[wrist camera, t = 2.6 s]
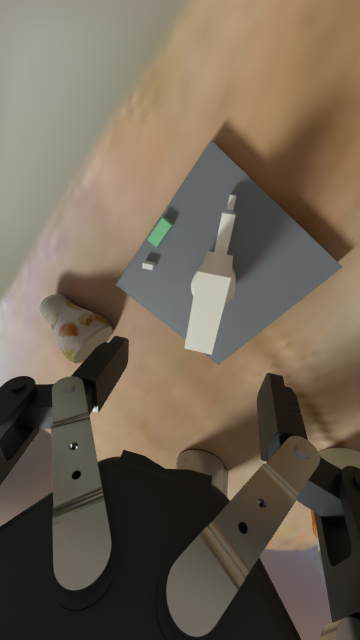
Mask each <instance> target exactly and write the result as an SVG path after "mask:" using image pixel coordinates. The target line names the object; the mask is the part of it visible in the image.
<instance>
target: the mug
mask: <svg viewBox="0 0 360 640" xmlns="http://www.w3.org/2000/svg"><path fill="white" fill-rule="evenodd" d="M39 312H40V315H41V316H42V317H43V318H44V319H45V320H46V321H47V322H48V323H49V325H50V326H51V328H52V330H53V333H54V336H55V338H56V341H57V344H58V346H59V348H60V350H61V352H62V354H63V355H64V356H65V357H66V358H67V359H69V360H70V361H72V362H74V363H80V362H83V361H84V360H86V358H88V356H89V355H90V354H91V353H92V351H93V350H94V349H95V348H96V347H97V346H98V345H100V344H102V343H104V342H106V341H107V340H108V339H109V337H110V336H111V334H112V332H113V329H112V327H111V325H110V324H109V322H108V321H107V320H106V319H105V318H103V317H102V316H100V315H98V314H96V313H94V312H91V311H89V310H86V309H83V308H80V307H78V306H76V305H74V304H73V303H71V302H70V301H69V300H68V299H67V298H65V297H64V296H63V295H60V294H58V295H51V296H49V297H47V298H45V299H44V300H43V301H42V303H41V305H40V311H39Z"/></svg>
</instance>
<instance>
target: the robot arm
mask: <svg viewBox="0 0 360 640" xmlns="http://www.w3.org/2000/svg"><path fill="white" fill-rule="evenodd" d="M128 347H129V340H128V339H127V338H123V337H119V336H114V337H113V339H112V340H111V341H110V342H109V343H107V342H104V343H102V344H100V345H98V346H97V347H96V348H95V349H94V350H93V351H92V353H91V354H90V355H89V356H88V358H86V360H85V361H84V362H83V363H82V364H81V365H80V367H79V368H78V369H77V370H76V371H75V372H74V373H73V375H72V376H71V377H65V378H62V379H60V380H58V381H57V382H56V383H55V384H48V385H36V384H35V381H34V379H33V378H31V377H28V376H20V377H16V378H13V379H11V380H9V381H7V382H6V383H5V384H4V385H2V386H1V387H0V485H1V483H2V482H3V481H4V479H5V478H6V476H7V475H8V474H9V472H10V471H11V470H12V468H13V467H14V465H15V464H16V462H17V461H18V460H19V458H20V457H21V456H22V454H23V453H24V452H25V450H26V449H27V447H28V446H29V445H30V443H31V442H32V440H33V439H34V438H35V436H36V435H37V434H38V432H39V430H40V429H51V437H52V474H53V492H52V493H50V494H48V495H47V496H45V497H44V498H43V499H41V500H39V501H38V502H36V503H35V504H34V505H32V506H30V507H29V508H28V509H26V510H24V511H23V512H21V513H20V514H19V515H17V516H15V517H14V518H12V519H11V520H9V521H8V522H7V523H5V524H3V525H2V526H0V640H301V638H300V636H299V634H298V632H297V630H296V628H295V626H294V624H293V622H292V620H291V619H290V617H289V615H288V612H287V611H286V609H285V607H284V605H283V603H282V601H281V599H280V597H279V595H278V593H277V591H276V589H275V587H274V585H273V583H272V581H271V579H270V577H269V575H268V573H267V571H266V569H265V567H264V565H263V563H262V561H261V559H260V558H259V557H260V555H261V553H262V552H263V550H264V549H265V547H266V546H267V544H268V543H269V541H270V540H271V538H272V537H273V535H274V534H275V532H276V531H277V529H278V528H279V526H280V525H281V523H282V521H283V520H284V518H285V517H286V515H287V514H288V512H289V511H290V509H291V508H292V506H293V505H294V503H295V502H296V500H297V501H299V502H300V503H302V504H303V505H305V506H306V507H308V508H309V509H311V510H312V511H314V516H315V522H316V528H317V534H318V540H319V546H320V552H321V558H322V564H323V570H324V576H325V582H326V587H327V593H328V599H329V605H330V611H331V617H332V623H331V624H328V625H327V626H326V627H324V629H323V631H322V633H321V637H320V640H360V468H357V467H355V466H346V467H344V468H343V469H340V468H338V467H337V466H335V465H333V464H331V463H329V462H328V461H326V460H324V459H323V458H321V457H320V456H319V453H318V451H317V449H316V448H315V447H314V445H313V444H312V443H310V442H309V441H308V438H307V435H306V431H305V427H304V423H303V419H302V415H301V414H300V412H301V411H300V407H299V404H298V400H297V396H296V395H295V393H294V392H293V390H292V389H291V388H289V387H285V385H284V380H283V377H282V376H280V375H276V374H272V373H267V374H266V376H265V379H264V381H263V383H262V385H261V388H260V390H259V393H258V397H257V410H258V424H259V437H260V451H261V460H263V461H267V463H266V464H263V465H262V466H261V467H260V468H259V469H258V470H257V471H256V473H255V474H254V475H253V476H252V477H251V478H250V479H249V481H248V482H247V483H246V484H245V485H244V486H243V487H242V488H241V490H240V491H239V492H238V493H237V494H236V495H235V496H234V497H233V499H232V500H231V501H230V500H229V499H228V498H227V488H228V471H227V470H225V468H224V466H223V463H222V462H221V461H220V460H219V459H218V458H217V457H216V456H214V455H212V454H210V453H208V452H205V451H200V450H187V451H184V452H182V453H181V454H179V456H178V459H177V463H176V466H175V469H165V468H163V467H161V466H160V465H158V464H157V463H155V462H153V461H152V460H150V459H149V458H147V457H145V456H143V455H140V454H136V453H133V452H129V451H126V450H123V453H122V455H121V457H111V458H107V459H104V460H101V461H99V462H97V456H96V450H95V444H94V439H93V433H92V427H91V421H90V416H89V415H90V413H91V411H92V412H96V413H99V411H100V410H101V408H102V406H103V405H104V403H105V401H106V400H107V398H108V396H109V395H110V393H111V392H112V390H113V388H114V387H115V385H116V383H117V382H118V380H119V378H120V377H121V375H122V373H123V372H124V370H125V368H126V366H127V363H128Z"/></svg>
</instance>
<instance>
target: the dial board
mask: <svg viewBox="0 0 360 640" xmlns="http://www.w3.org/2000/svg"><path fill="white" fill-rule="evenodd" d="M222 212H228V213H234V214H236V216H235V221H234V225H233V229H232V234H231V238H230V242H229V247H228V251H227V255H231V256H233V264H232V267H233V268H234V270H235V274H236V285H235V293H234V296H233V298H232V299H231V300H230V302H228V303H227V304H226V305H224V308H223V312H222V316H221V320H220V324H219V328H218V332H217V336H216V340H215V344H214V348H213V352H212V355H211V354H206V353H204V354H205V355H206V356H208V357H209V358H210V359H212V360H213V361H214V362H215V363H217V364H220V363H221V362H222V361H224V360H225V359H226V358H227V357H229V356H230V355H231V354H232V353H234V352H235V351H236V350H238V349H239V348H240V347H241V346H243V345H244V344H245V343H246V342H248V341H249V340H250V339H252V338H253V337H254V336H255V335H257V334H258V333H259V332H260V331H262V330H263V329H264V328H266V327H267V326H268V325H269V324H271V323H272V322H273V321H274V320H276V319H277V318H278V317H280V316H281V315H282V314H283V313H285V312H286V311H287V310H288V309H290V308H291V307H292V306H294V305H295V304H296V303H297V302H299V301H300V300H301V299H302V298H304V297H305V296H306V295H308V294H309V293H310V292H311V291H313V290H314V289H315V288H316V287H318V286H319V285H320V284H322V283H323V282H324V281H325V280H327V279H328V278H329V277H330V276H332V275H333V274H334V273H335V272H337V271H338V270H339V269H341V268H342V266H341V265H340V264H339V263H338V262H337V261H336V260H335V259H334V258H333V257H332V256H331V255H330V254H329V253H328V252H327V251H325V250H324V249H323V248H322V247H321V246H320V245H319V244H318V243H317V242H316V241H315V240H314V239H313V238H312V237H311V236H310V235H309V234H308V233H307V232H306V231H305V230H304V229H303V228H302V227H301V226H300V225H299V224H298V223H296V222H295V221H294V220H293V219H292V218H291V217H290V216H289V215H288V214H287V213H286V212H285V211H284V210H283V209H282V208H281V207H280V206H279V205H278V204H277V203H276V202H275V201H274V200H273V199H272V198H271V197H270V196H269V195H267V194H266V193H265V192H264V191H263V190H262V189H261V188H260V187H259V186H258V185H257V184H256V183H255V182H254V181H253V180H252V179H251V178H250V177H249V176H248V175H247V174H246V173H245V172H244V171H243V170H242V169H241V168H240V167H239V166H237V165H236V164H235V163H234V162H233V161H232V160H231V159H230V158H229V157H228V156H227V155H226V154H225V153H224V152H223V151H222V150H221V149H220V148H219V147H218V146H217V145H216V144H215V143H214V142H213V141H212V140H211V142H210V143H209V145H208V146H207V148H206V149H205V151H204V152H203V154H202V155H201V157H200V158H199V160H198V161H197V163H196V164H195V166H194V167H193V169H192V170H191V172H190V173H189V175H188V176H187V178H186V180H185V181H184V183H183V184H182V186H181V187H180V189H179V190H178V192H177V193H176V195H175V196H174V198H173V199H172V201H171V202H170V204H169V205H168V207H167V208H166V210H165V211H164V213H163V214H162V216H161V217H160V219H159V220H158V222H157V223H156V225H155V226H154V228H153V229H152V231H151V232H150V234H149V235H148V237H147V238H146V240H145V242H144V243H143V245H142V246H141V248H140V249H139V251H138V252H137V254H136V255H135V257H134V258H133V260H132V261H131V263H130V264H129V266H128V267H127V269H126V270H125V272H124V273H123V275H122V276H121V278H120V279H119V281H118V282H117V284H116V286H118V287H119V288H120V289H122V290H123V291H124V292H125V293H127V294H128V295H129V296H131V297H132V298H133V299H134V300H136V301H137V302H138V303H140V304H141V305H142V306H143V307H145V308H146V309H147V310H149V311H150V312H151V313H152V314H154V315H155V316H156V317H158V318H159V319H160V320H161V321H163V322H164V323H165V324H167V325H168V326H169V327H170V328H172V329H173V330H174V331H176V332H177V333H178V334H179V335H181V336H182V337H183V338H185V339H186V336H187V331H188V325H189V319H190V313H191V308H192V302H193V294H192V291H191V282H192V279H193V277H194V275H195V273H196V271H197V269H198V267H199V266H200V265H201V264H202V262H203V259H204V257H205V255H206V253H207V251H210V252H214V250H215V245H216V240H217V235H218V231H219V226H220V221H221V216H222Z"/></svg>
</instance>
